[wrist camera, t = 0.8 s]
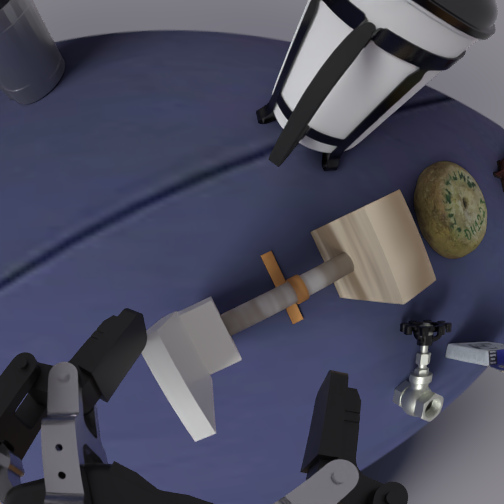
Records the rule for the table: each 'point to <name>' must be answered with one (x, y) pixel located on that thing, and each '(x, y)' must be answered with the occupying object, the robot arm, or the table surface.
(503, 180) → the mate gourd
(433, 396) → the valve
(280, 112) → the coffee press
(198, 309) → the white upright panel
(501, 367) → the ink box
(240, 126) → the table surface
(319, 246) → the rod stand
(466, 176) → the weight
